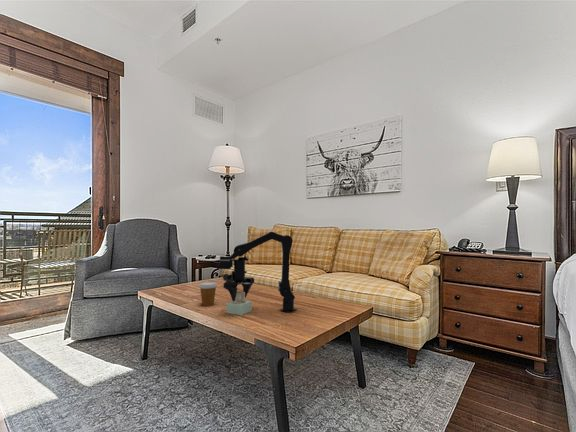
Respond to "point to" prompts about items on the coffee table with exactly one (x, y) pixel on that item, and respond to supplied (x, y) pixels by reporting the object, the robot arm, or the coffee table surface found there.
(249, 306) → the green square frame
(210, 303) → the disposable coffee cup
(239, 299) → the beige rectangular block
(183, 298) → the coffee table surface
